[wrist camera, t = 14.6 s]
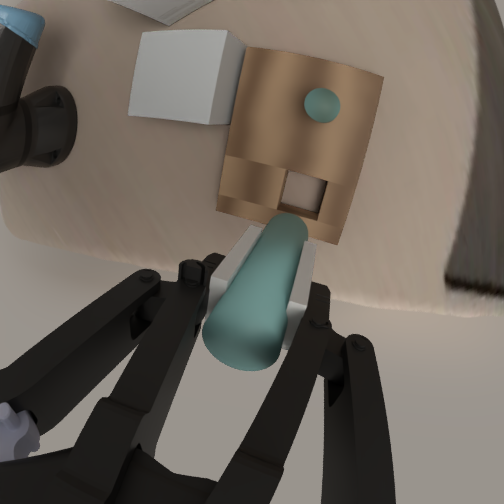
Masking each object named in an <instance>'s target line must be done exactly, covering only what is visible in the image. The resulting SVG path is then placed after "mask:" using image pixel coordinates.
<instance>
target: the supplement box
mask: <svg viewBox="0 0 504 504" xmlns="http://www.w3.org/2000/svg"><path fill="white" fill-rule="evenodd" d="M108 1H111V2H113V3H116V4H119V5H121V6H124V7H126V8H129V9H131V10H134V11H136V12H139V13H141V14H143V15H145V16H148V17H150V18H152V19H155V20H157V21H159V22H161V23H163V24H165V25H167V26H170V25H172V24H173V23H175V22H176V21H178V20H180V19H181V18H183V17H184V16H186V15H188V14H190V13H191V12H193V11H195V10H196V9H198V8H200V7H202V6H204V5H206V4H207V3H209V2H211V1H213V0H108Z"/></svg>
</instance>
